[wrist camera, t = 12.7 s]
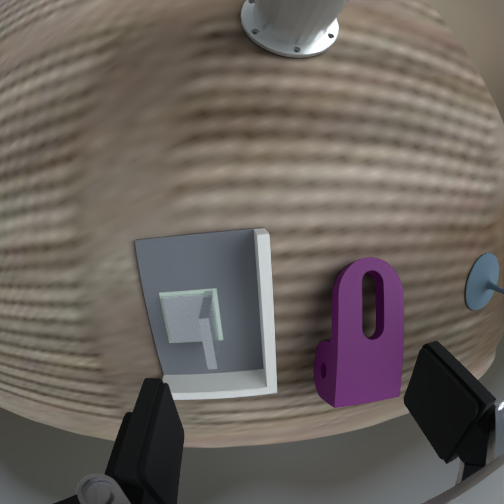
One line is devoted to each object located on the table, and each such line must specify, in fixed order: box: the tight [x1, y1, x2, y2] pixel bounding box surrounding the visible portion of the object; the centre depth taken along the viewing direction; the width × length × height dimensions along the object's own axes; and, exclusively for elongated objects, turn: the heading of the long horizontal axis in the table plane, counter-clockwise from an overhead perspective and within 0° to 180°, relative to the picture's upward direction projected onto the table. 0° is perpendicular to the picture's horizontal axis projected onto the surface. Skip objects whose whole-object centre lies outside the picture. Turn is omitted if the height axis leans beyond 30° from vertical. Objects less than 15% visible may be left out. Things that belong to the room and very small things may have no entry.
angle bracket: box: [162, 292, 219, 370], centre depth 30 cm, size 6×6×7 cm
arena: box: [135, 228, 277, 400], centre depth 32 cm, size 20×15×5 cm
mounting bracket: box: [314, 257, 404, 408], centre depth 34 cm, size 10×8×18 cm
